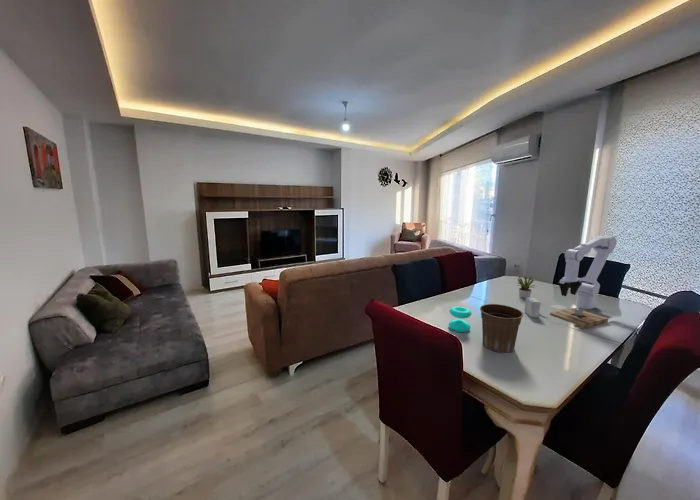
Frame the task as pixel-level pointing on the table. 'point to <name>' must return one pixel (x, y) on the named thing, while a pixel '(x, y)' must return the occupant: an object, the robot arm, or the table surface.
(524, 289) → the house plant
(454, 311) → the donuts
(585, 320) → the hole plate
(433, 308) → the table surface
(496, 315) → the plant pot
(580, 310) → the steel peg
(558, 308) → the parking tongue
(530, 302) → the medicine box
